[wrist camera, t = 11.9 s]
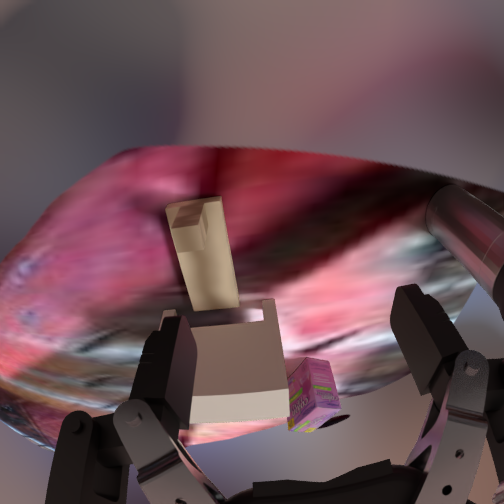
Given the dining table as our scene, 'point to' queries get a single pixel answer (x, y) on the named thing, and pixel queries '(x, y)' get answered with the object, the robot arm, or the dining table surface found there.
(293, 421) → the box
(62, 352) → the dining table surface
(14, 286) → the dining table surface
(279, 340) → the notched block
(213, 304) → the stepped wooden block
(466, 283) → the dining table surface
